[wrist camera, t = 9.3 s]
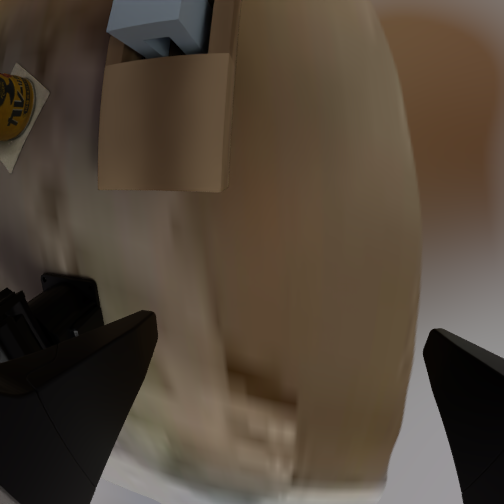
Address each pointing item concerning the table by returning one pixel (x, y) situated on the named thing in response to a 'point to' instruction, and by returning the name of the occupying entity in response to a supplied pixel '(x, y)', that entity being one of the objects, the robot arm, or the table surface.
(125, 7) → the clip
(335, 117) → the table surface
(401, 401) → the table surface
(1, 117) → the condiment
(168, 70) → the brown slotted block
